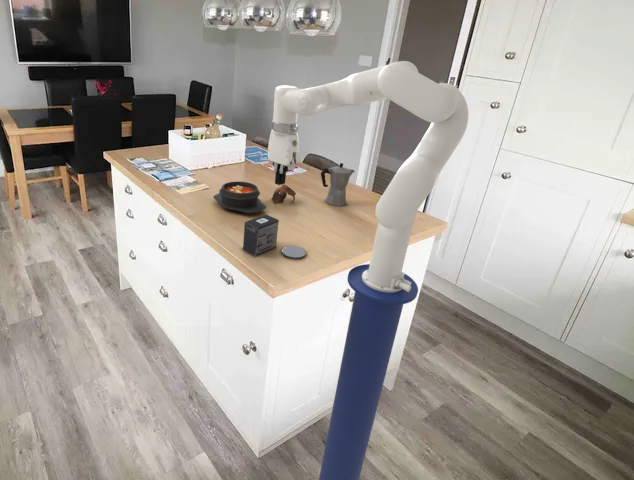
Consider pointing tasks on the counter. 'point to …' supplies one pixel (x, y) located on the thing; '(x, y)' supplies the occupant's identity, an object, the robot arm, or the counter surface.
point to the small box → (260, 234)
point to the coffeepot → (337, 184)
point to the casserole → (240, 197)
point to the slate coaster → (293, 252)
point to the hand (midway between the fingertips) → (280, 183)
